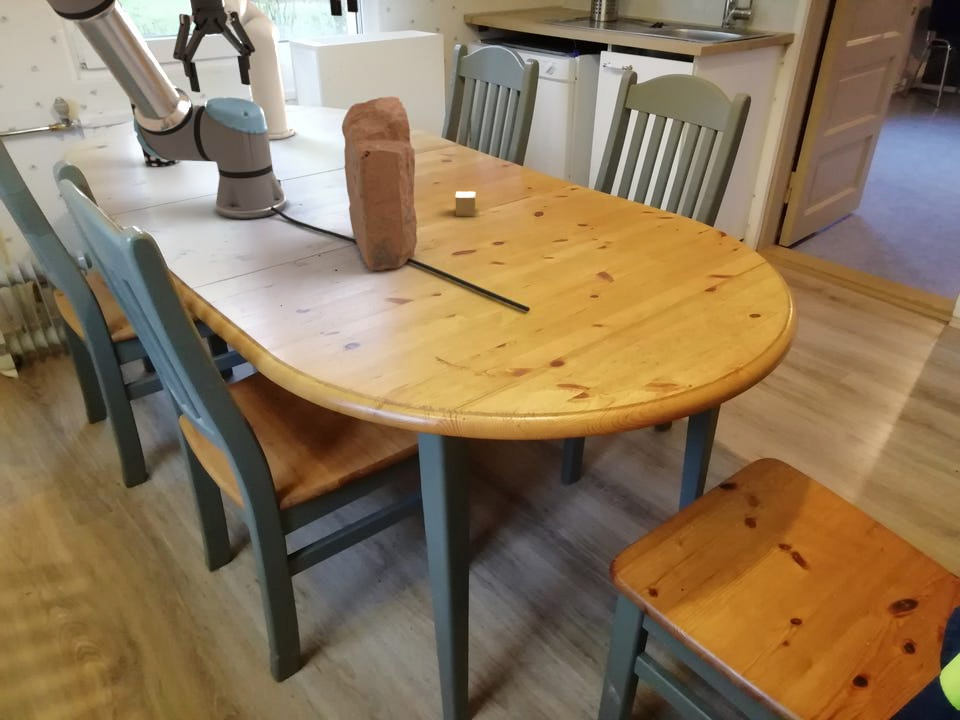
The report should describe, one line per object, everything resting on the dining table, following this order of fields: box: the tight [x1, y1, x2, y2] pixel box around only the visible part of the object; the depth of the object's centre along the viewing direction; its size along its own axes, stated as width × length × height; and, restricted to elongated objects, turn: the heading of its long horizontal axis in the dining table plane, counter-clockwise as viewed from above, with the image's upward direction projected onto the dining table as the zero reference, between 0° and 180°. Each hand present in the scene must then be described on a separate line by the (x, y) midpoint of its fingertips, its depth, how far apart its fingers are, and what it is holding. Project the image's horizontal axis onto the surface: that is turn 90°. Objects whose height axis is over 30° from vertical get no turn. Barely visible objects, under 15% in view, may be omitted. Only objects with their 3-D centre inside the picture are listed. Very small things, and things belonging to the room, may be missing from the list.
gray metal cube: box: [455, 191, 476, 217], centre depth 156 cm, size 4×4×4 cm
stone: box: [341, 96, 418, 271], centre depth 131 cm, size 22×11×28 cm, turn 18°
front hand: (221, 88), depth 168 cm, fingers open, 13 cm apart
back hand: (345, 13), depth 196 cm, fingers open, 9 cm apart
